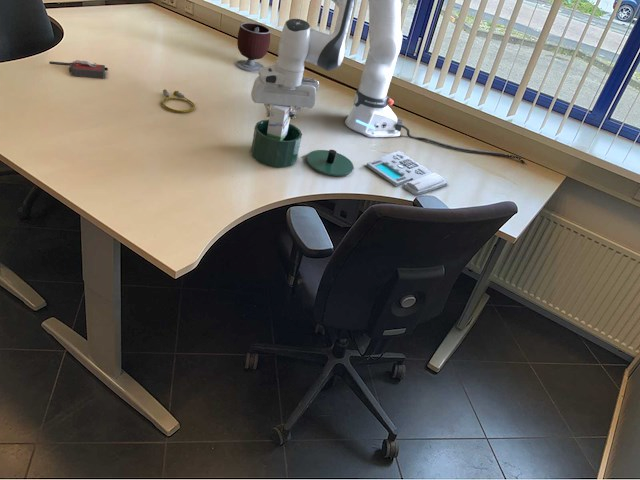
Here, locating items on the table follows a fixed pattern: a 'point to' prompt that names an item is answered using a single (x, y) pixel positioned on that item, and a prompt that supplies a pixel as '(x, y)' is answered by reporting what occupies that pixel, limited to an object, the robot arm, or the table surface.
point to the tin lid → (330, 162)
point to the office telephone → (407, 173)
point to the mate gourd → (252, 45)
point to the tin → (275, 146)
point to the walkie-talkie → (84, 69)
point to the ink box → (279, 122)
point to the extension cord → (176, 99)
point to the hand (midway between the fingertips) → (280, 117)
